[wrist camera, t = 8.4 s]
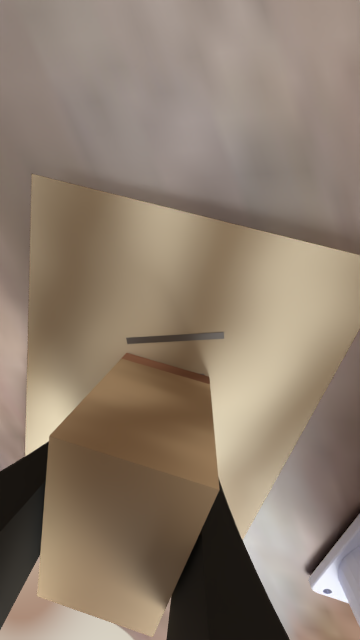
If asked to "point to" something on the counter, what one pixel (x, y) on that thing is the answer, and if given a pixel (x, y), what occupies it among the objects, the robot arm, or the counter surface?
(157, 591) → the block
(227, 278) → the board
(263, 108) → the counter surface
